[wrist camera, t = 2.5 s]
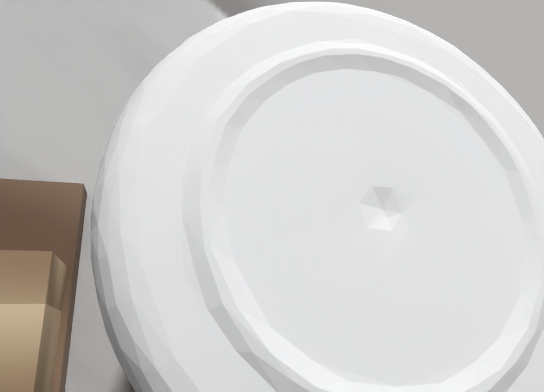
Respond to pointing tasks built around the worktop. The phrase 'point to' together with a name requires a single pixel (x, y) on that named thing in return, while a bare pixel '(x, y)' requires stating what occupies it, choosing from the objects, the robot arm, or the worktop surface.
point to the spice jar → (322, 214)
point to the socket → (38, 281)
